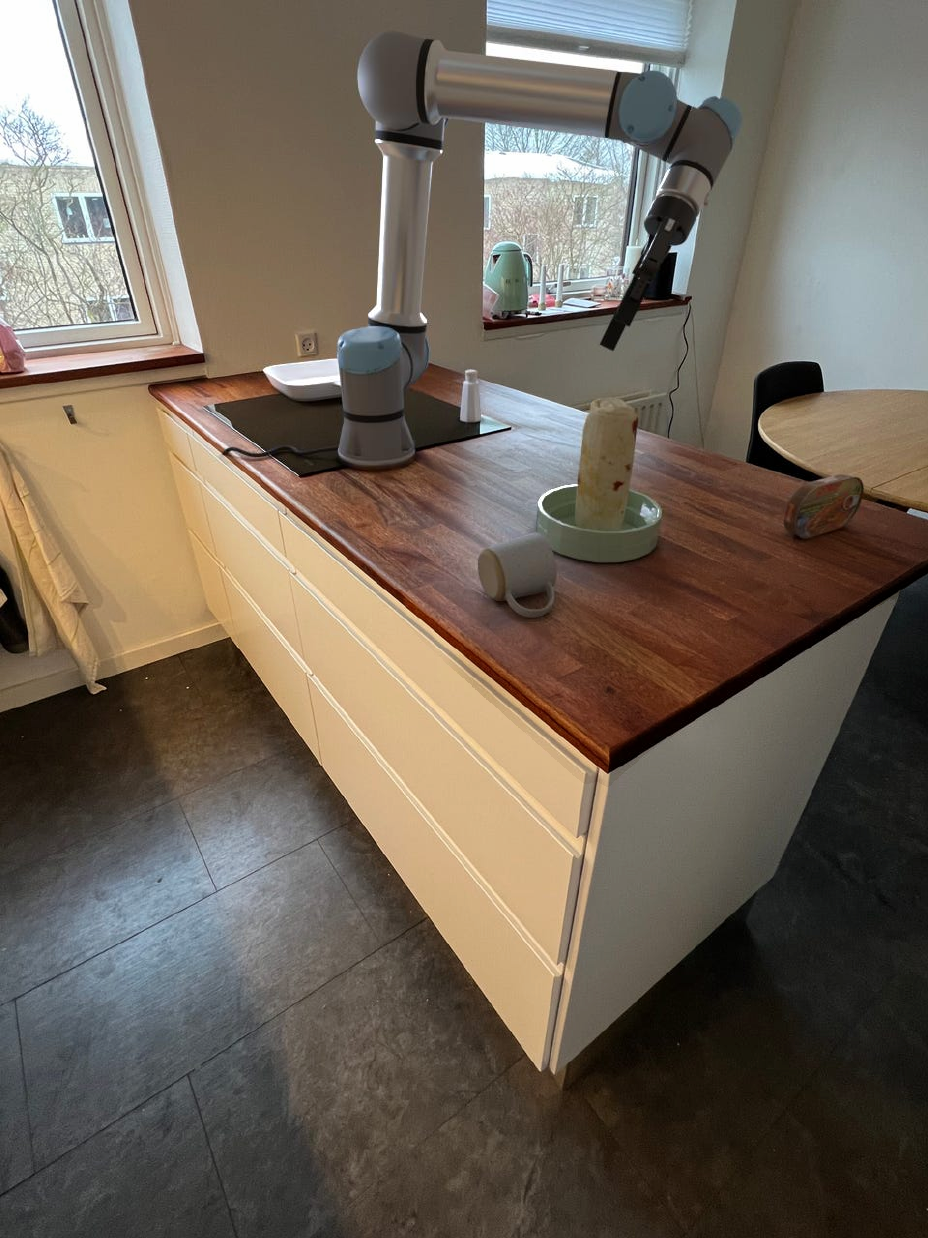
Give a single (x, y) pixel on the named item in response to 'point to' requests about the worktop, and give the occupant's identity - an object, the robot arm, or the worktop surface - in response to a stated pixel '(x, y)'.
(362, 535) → the worktop surface
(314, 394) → the pan
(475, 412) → the pepper shaker
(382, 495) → the worktop surface
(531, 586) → the ceramic mug
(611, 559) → the bowl
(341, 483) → the worktop surface
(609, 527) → the food model
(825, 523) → the tin
